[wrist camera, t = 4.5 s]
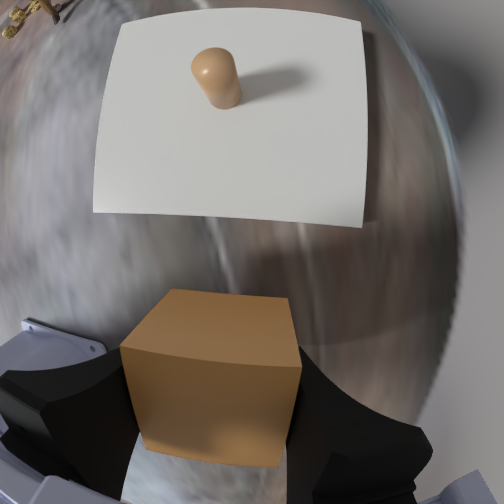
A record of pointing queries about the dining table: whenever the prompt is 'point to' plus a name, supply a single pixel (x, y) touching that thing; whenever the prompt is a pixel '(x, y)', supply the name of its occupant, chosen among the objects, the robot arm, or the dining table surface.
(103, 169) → the plate
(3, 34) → the dice set
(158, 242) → the dining table surface
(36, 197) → the dining table surface
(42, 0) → the lion figurine
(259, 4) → the dining table surface
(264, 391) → the orange cube
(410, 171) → the dining table surface
